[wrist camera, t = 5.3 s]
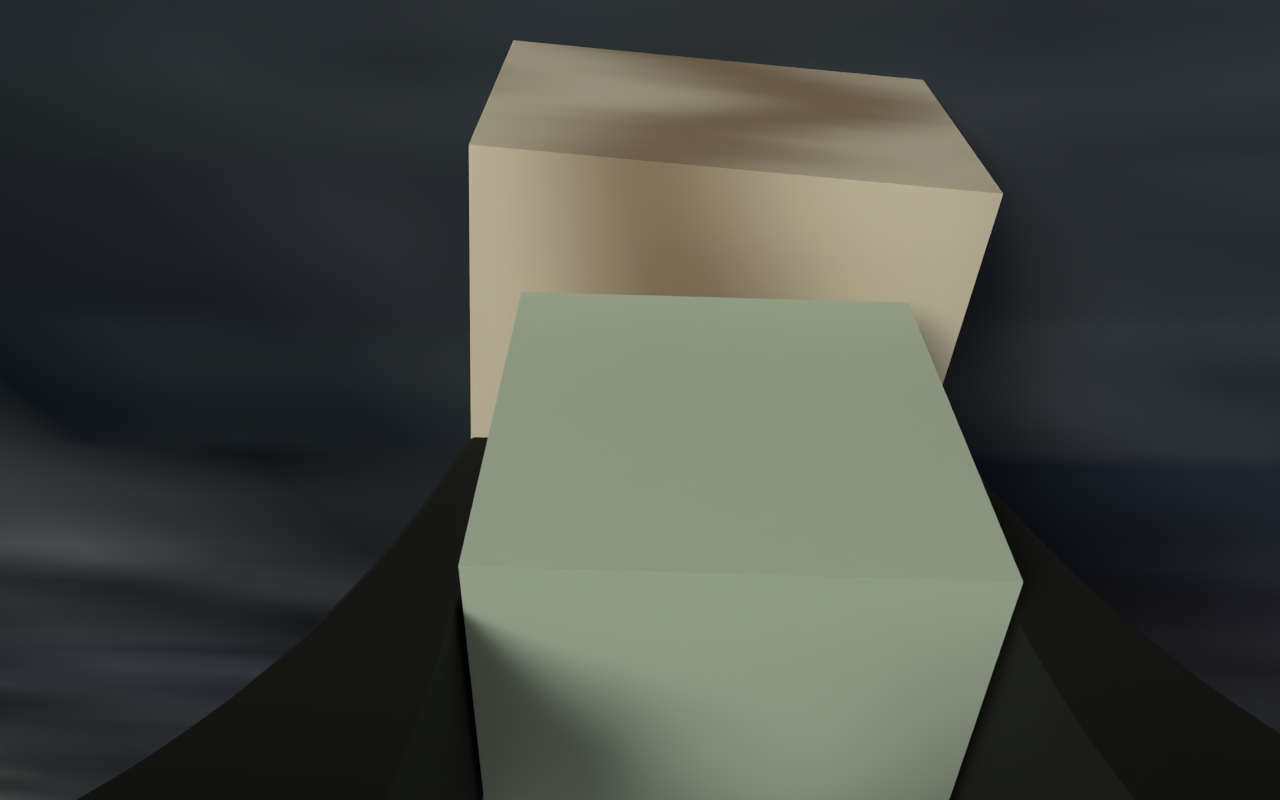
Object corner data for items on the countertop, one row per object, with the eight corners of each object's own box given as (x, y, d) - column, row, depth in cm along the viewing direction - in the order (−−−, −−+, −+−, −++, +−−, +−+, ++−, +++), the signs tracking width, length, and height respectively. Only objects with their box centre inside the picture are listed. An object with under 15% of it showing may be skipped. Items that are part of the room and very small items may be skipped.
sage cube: (908, 302, 13) (1023, 581, 9) (852, 579, 16) (919, 887, 12) (521, 291, 13) (457, 566, 9) (535, 571, 16) (492, 876, 12)
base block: (920, 77, 17) (1003, 193, 13) (839, 407, 21) (881, 575, 17) (514, 37, 17) (468, 144, 13) (508, 379, 21) (471, 544, 17)
